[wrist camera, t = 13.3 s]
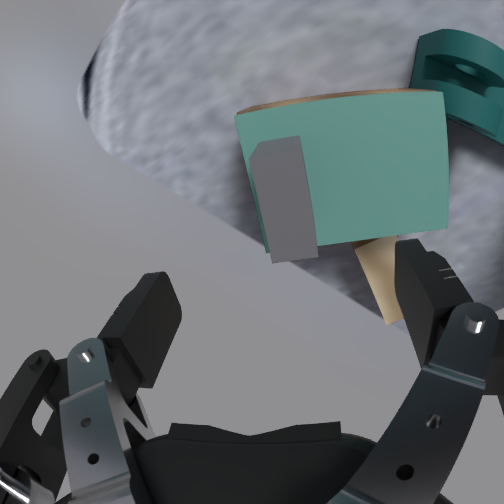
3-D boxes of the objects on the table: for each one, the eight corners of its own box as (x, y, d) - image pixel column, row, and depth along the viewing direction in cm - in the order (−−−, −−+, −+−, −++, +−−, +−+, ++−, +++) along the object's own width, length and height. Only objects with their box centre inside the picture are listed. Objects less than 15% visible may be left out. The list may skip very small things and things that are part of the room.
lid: (430, 90, 18) (480, 97, 12) (437, 216, 22) (476, 262, 16) (239, 113, 21) (215, 125, 15) (268, 239, 25) (258, 293, 19)
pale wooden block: (383, 211, 29) (395, 231, 25) (409, 285, 33) (421, 310, 29) (347, 227, 31) (354, 249, 27) (378, 299, 34) (386, 325, 30)
